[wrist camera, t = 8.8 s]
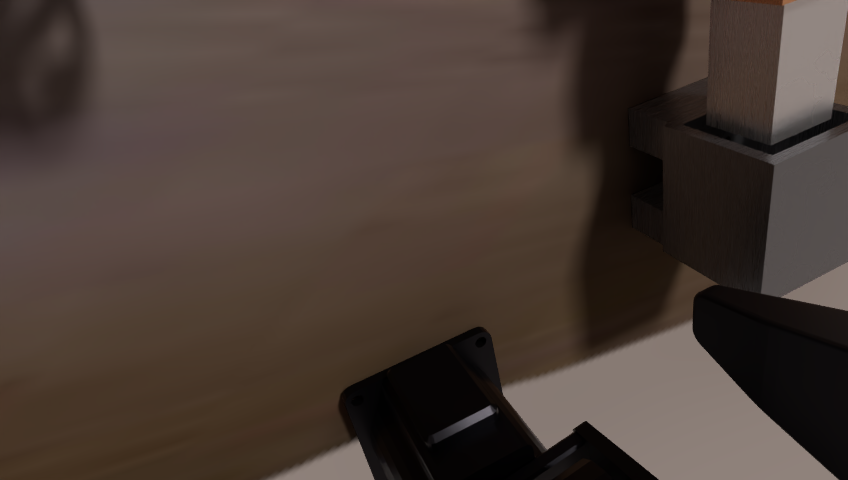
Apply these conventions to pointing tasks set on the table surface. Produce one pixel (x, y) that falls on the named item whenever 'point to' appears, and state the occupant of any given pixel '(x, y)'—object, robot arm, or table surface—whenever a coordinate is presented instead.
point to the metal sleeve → (743, 195)
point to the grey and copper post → (773, 65)
